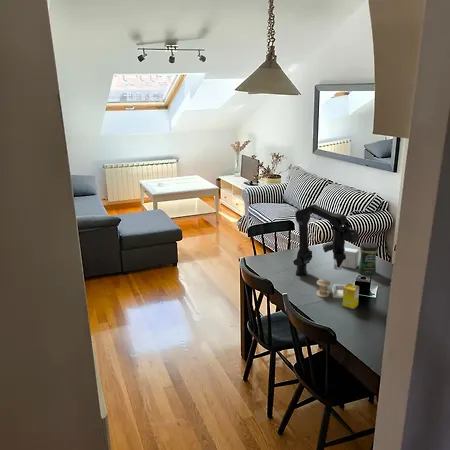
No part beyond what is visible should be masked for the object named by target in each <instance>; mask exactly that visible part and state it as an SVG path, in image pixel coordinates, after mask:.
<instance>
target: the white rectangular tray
mask: <svg viewBox="0 0 450 450" xmlns="http://www.w3.org/2000/svg"><path fill="white" fill-rule="evenodd" d="M346 285H347V284H336V283H335V284H333V286H332V287H331V290H332V298H336V299H337V298H338V299H341V298H342V299H343V287H345V286H346Z"/></svg>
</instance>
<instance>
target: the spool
mask: <svg viewBox="0 0 450 450" xmlns="http://www.w3.org/2000/svg"><path fill="white" fill-rule="evenodd" d="M316 285H318V286H319V290H317V291H316V295H317V296H318V297H319V298H328V297H330V296H331V292H330V291H328V287H329V286H331V281H330V280H328V279H324V278H321V279H318V280H317V281H316Z"/></svg>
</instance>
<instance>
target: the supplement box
mask: <svg viewBox="0 0 450 450" xmlns="http://www.w3.org/2000/svg"><path fill="white" fill-rule="evenodd" d="M345 285H346V286H345V287H343V298H342V308H344V309H348V310H352V311H354V310H355V309H357V307H358V306H359V296H360V294H359V293H360V286H359V285H356V284H352V283H349V282H348V283H347V284H345Z"/></svg>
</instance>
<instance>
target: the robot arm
mask: <svg viewBox="0 0 450 450" xmlns="http://www.w3.org/2000/svg"><path fill="white" fill-rule="evenodd" d="M294 215H295V221H296V223H297V224H298V237H299V240H298V241H299V249H298V251H297V254H296V258H295V259H294V260H293V261H292V263H293V265H294V266H296V271H295V276H304V277H305V276H308V270H307V267H308V264H310V261H312V258H313V250H311V249H310V248H309V228H308V227H309V225H308V224H309V222H310V220H311V215H315V216H318V217H320V218H322V219H323V220H326V221H328V222H329V224H330V225H331V226H332V227H330V230H332V231H333V239H332V241H329V242H326V243H323V244H322V246H321V247H322V249H323V252H324V253H327V252H330V251H332V253H333V254H332V256H333V259H336V262H337V267H340V266H341V264H342V262H343V260H345V259H346V254H345V253H344V251H345V248H346V247H345V244H346V242H349V243H353V244H355V243H357V242H358V241H359V239H360V235H359V232H358V230H357V229H353V228H352V226H351V224H350V223H349V221H348V218H347V216H346V215H345V214H342V213H337V212H336V213H334V212H332V211H329V210H327V209H325V208H323V207H320V206H319V205H317V204H316V203H313V204H310V205H307V206H306V207H305V208H301V209H298V210H296V211H295V214H294ZM345 241H346V242H345Z"/></svg>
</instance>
